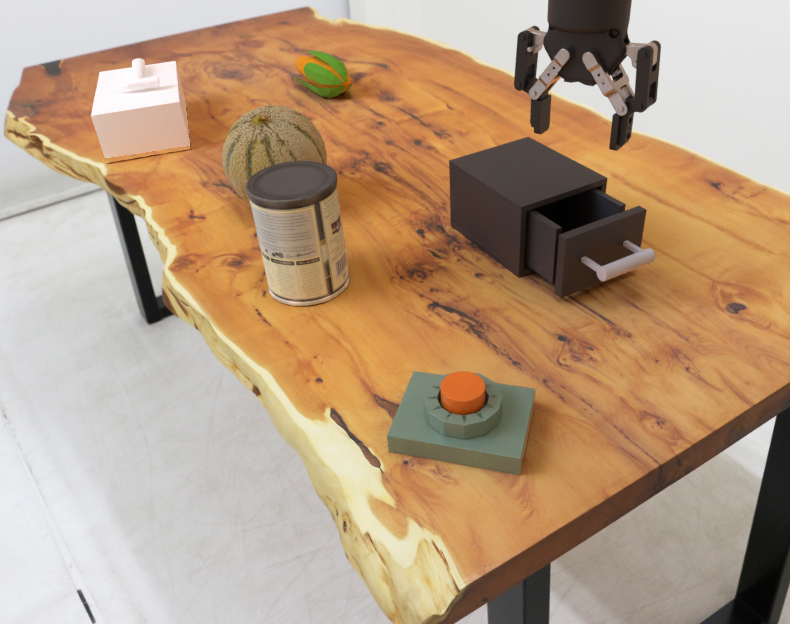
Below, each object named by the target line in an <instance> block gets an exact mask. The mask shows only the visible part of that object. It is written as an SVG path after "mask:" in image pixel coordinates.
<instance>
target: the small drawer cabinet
mask: <svg viewBox="0 0 790 624" xmlns="http://www.w3.org/2000/svg"><path fill="white" fill-rule="evenodd" d="M448 169H449V172H448V173H449V174H448V175H449V208H450V211H449V212H450V226H451V227H453V229H455V230H456V231H457V232H459V233H460V234H461V235H463V236H464V237H465V238H466V239H468V240H469V241H470V242H472V243H473V244H475V245H476V246H477V247H478V248H480V249H481V250H482V251H483V252H485V253H486V254H488V255H489V256H490V257H491V258H493V259H494V260H495V261H496V262H498V263H499V264H500V265H502V266H503V267H505V269H507V270H508V271H510V272H511V273H512V274H513V275H514V276H516V277H517V278H521V277H524V276H526V275H528V274H531V273H535V271H534V270H533V269H531V268H530V267H529V266H527V265H526V264H525V263H524V256H525V234H526V211H529V210H532V209H535V208H538V207H541V206H543V205H546V204H549V203H552V202H555V201H558V200H561V199H564V198H567V197H570V196H573V195H576V194H578V193H581V192H584V191H587V190H590V189H593V188H597V189H599V190H600V191H602V192H604V193H606V194H607V188H608V187H607V185H608V177H607V176H605V175H604V174H601V173H599V172H598V171H595V170H593V169H592V168H590V167H588V166H585V165H584V164H582V163H580V162H578V161H577V160H574V159H572V158H571V157H569V156H567V155H564V154H563V153H561V152H559V151H557V150H555V149H553V148H551V147H549V146H547V145H545V144H543V143H542V142H539V141H537V140H535V139H534V138H532V137H530V136H526V137H522V138H519V139H516V140H512V141H509V142H506V143H502V144H499V145H496V146H493V147H489V148H486V149H483V150H479V151H476V152H473V153H470V154H469V153H468V154H466V155H465V154H464V155H462V156H459V157H456V158H451V159H449V160H448Z"/></svg>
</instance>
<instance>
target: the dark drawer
mask: <svg viewBox="0 0 790 624" xmlns="http://www.w3.org/2000/svg"><path fill="white" fill-rule="evenodd" d="M626 206H627V204H626V203H625V202H623V201H620V200H619V199H617V198H615V197H614V196H611V195H610V194H608V193H607V192H606V193H604V192H602V191H600V190H599V189H597V188H593V189H590V190H587V191H584V192H581V193H578V194H576V195H573V196H570V197H567V198H564V199H561V200H558V201H555V202H552V203H549V204H546V205H543V206H541V207H538V208H535V209H532V210H529V211H526V234H525V256H524V263H525V264H526V265H527V266H529V267H530V268H531V269H533V270H534V272H536V273H537V274H538V275H539V276H541V277H542V278H544V279H545V280H546V281H548V282H549V283H550V284H552V285H553V284H554V295H555V296H556V297H558V298H559V299H564V298H566V297H568V296H570V295H573V294H577V293H578V292H581V291H584V290H586V289H588V288H591V287H593V286H596V285H598V284H601V283H603V282H606V281H609V280H611V279H614V278H616V277H619V276H621V275H624V274H627V273H629V272H631V271H634V270H636V269H639V268H642V267H643V266H646V265H649V264H651V263H653V262H654V261H656V258H657V256H656V252H655V251H654V250H653V249H652V248H651V247H648V248H645V249H643V248H642V242H643V236H644V229H645V223H646V218H647V217H646V216H647V209H646V208H645V207H643V206H641V205H637V206H634V207H632V208H631V207H630V208H628V209H626Z"/></svg>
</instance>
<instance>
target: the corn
mask: <svg viewBox="0 0 790 624" xmlns="http://www.w3.org/2000/svg"><path fill="white" fill-rule="evenodd" d="M307 53H308V54H311V55H300V56H299V57H298V58H297V59H296V60H295V68H296V69H297V71H298V73H299V74H300V75H301V76H302V77H303V78H304V79H305V80H306V81H307V82H306V81H303V80H301V79H299V78H298V77H296V76H293V78H294V80H296V81H297V83H299V84H300V85H302V86H304V87H305V88H306V89H309V90H310V91H312V92H313V93H315V94H317V95H318V96H320V97H323V98H326V97H328V98H327V99H332V98H335V97H338V96H344V95H345V94H346V93H348V92H349V90H350V89H351V88H352V82H353V81H352V77H351V75H350V72H349V70H348V68H347V67H346V64H345V63H344V62H343V61H341V60H339V58H336V57H335V56H333V55H331V54H330V53H327V52H323V51H319V50H311V49H309V50H308V51H307ZM339 94H341V95H339Z"/></svg>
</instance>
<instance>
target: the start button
mask: <svg viewBox="0 0 790 624" xmlns="http://www.w3.org/2000/svg"><path fill="white" fill-rule="evenodd" d="M474 373H475V372H471V371H465V370H460V371H455V372H451V374H450V373H448V374H449V375H447V376H446V377H445V378H444V379H443V380H442V382H441V385H440V390H441V403H442V405H443V407H444V408H445V409H446V410H447V411H449V412H450V413H453V414H458V415H469V414H473V413H476V412H478V411H479V410H480V409H481V408H482V407H483V406H484V404H485V383H484V381H483V379H482V378H481V377H480V376H478V375H477V374H474Z"/></svg>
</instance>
